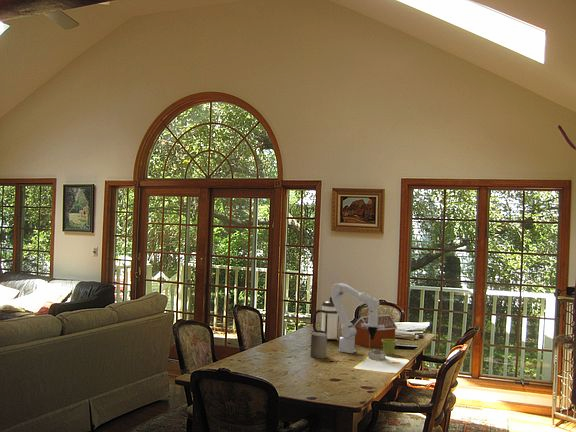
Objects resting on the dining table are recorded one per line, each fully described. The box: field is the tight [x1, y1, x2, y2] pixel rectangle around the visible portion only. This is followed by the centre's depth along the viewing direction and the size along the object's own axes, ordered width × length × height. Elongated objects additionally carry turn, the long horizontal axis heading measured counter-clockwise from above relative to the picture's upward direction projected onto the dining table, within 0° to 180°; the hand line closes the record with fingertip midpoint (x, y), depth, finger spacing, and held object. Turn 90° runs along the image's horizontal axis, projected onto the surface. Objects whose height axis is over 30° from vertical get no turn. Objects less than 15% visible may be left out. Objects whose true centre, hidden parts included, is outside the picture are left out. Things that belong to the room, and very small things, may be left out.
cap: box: [371, 348, 383, 354], centre depth 368 cm, size 6×5×4 cm
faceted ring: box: [367, 350, 386, 361], centre depth 368 cm, size 10×10×4 cm
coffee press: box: [312, 296, 340, 342], centre depth 421 cm, size 17×16×30 cm
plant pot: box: [382, 339, 397, 356], centre depth 381 cm, size 9×9×9 cm
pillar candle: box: [310, 332, 328, 359], centre depth 367 cm, size 10×10×15 cm
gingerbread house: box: [353, 314, 398, 349], centre depth 411 cm, size 18×26×20 cm
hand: (372, 339), depth 376 cm, fingers closed
